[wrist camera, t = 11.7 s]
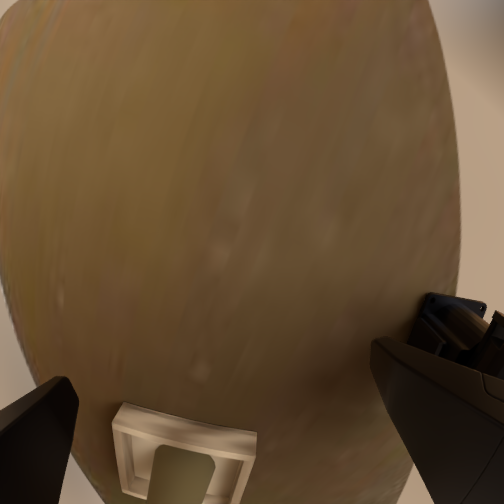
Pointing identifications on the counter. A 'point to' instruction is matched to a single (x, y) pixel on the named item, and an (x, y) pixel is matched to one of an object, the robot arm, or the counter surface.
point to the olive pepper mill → (179, 476)
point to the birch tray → (185, 437)
